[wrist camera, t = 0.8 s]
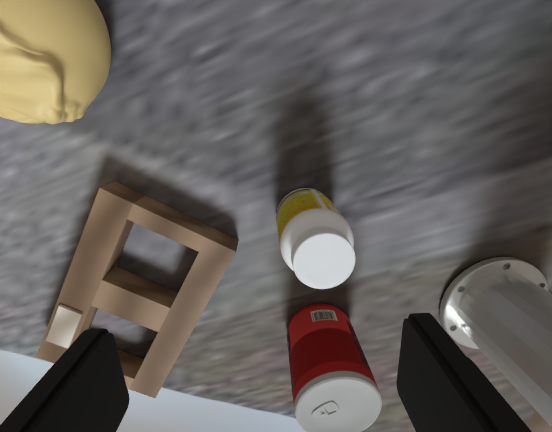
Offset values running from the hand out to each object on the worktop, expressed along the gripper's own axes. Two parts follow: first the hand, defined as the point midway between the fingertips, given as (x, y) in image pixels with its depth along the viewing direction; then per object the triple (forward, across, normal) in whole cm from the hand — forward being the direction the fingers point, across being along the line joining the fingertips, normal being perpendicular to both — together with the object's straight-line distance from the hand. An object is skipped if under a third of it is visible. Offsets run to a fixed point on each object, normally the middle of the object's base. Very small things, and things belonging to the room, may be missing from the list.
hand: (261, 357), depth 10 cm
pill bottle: (+23, -4, +3) cm, 23 cm away
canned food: (+23, -5, +18) cm, 30 cm away
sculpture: (+22, +18, -14) cm, 32 cm away
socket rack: (+22, +15, +11) cm, 29 cm away
